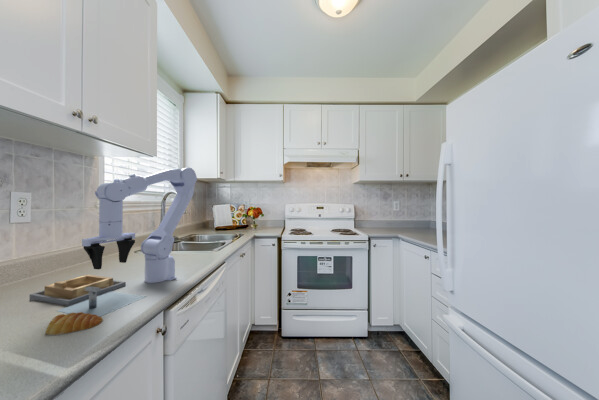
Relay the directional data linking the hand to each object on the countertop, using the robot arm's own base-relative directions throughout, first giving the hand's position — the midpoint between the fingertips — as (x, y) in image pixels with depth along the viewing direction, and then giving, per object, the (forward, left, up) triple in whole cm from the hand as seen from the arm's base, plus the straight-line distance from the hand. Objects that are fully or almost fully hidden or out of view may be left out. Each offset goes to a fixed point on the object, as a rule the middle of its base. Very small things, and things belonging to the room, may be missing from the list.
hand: (110, 265), depth 74 cm
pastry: (+17, +11, -10) cm, 22 cm away
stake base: (+6, +6, -9) cm, 13 cm away
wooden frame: (+2, -9, -9) cm, 13 cm away
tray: (+2, -10, -9) cm, 14 cm away
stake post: (+9, +6, -9) cm, 14 cm away
